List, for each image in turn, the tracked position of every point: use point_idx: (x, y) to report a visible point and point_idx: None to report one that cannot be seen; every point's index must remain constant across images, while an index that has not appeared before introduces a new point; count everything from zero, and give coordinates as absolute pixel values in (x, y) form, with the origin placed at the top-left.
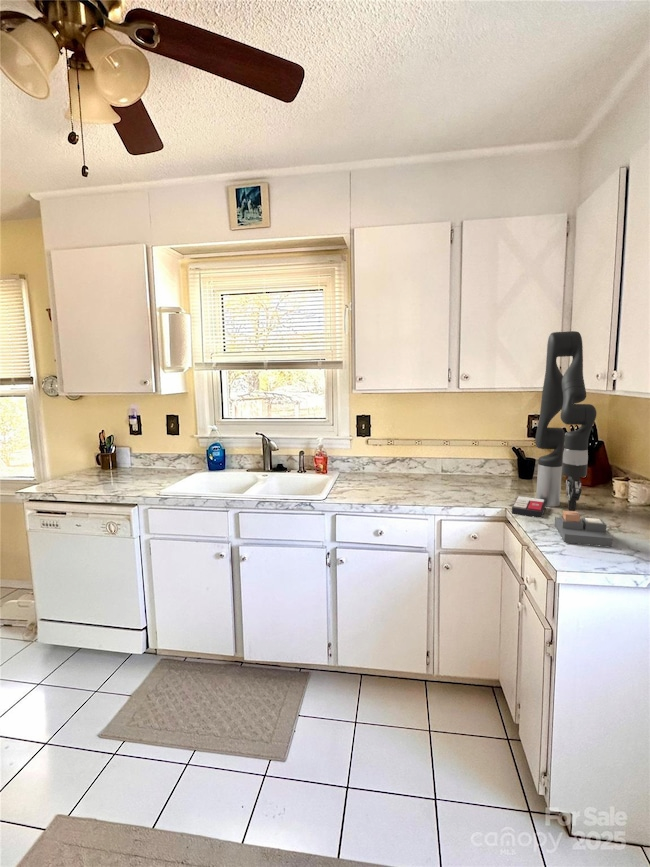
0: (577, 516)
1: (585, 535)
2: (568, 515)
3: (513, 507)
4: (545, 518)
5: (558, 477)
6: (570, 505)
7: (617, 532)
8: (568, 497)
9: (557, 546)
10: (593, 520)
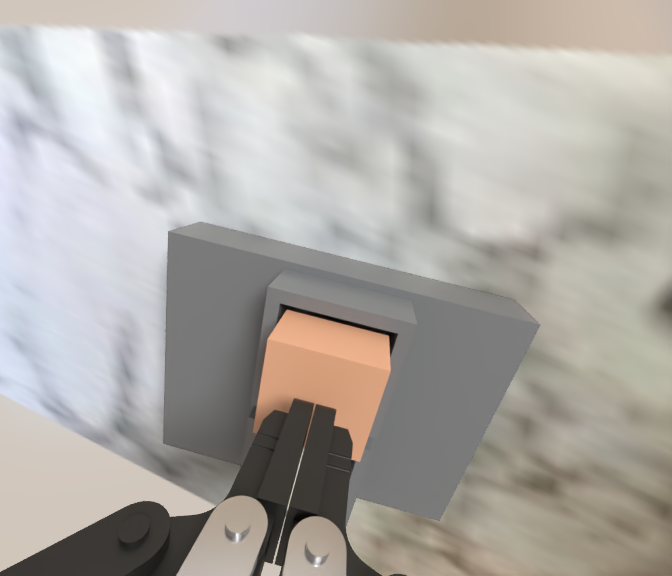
0: (259, 410)
1: (173, 342)
2: (267, 353)
3: None
4: (668, 300)
5: None
6: (263, 447)
7: (376, 520)
8: (291, 545)
9: (132, 154)
10: (295, 480)
